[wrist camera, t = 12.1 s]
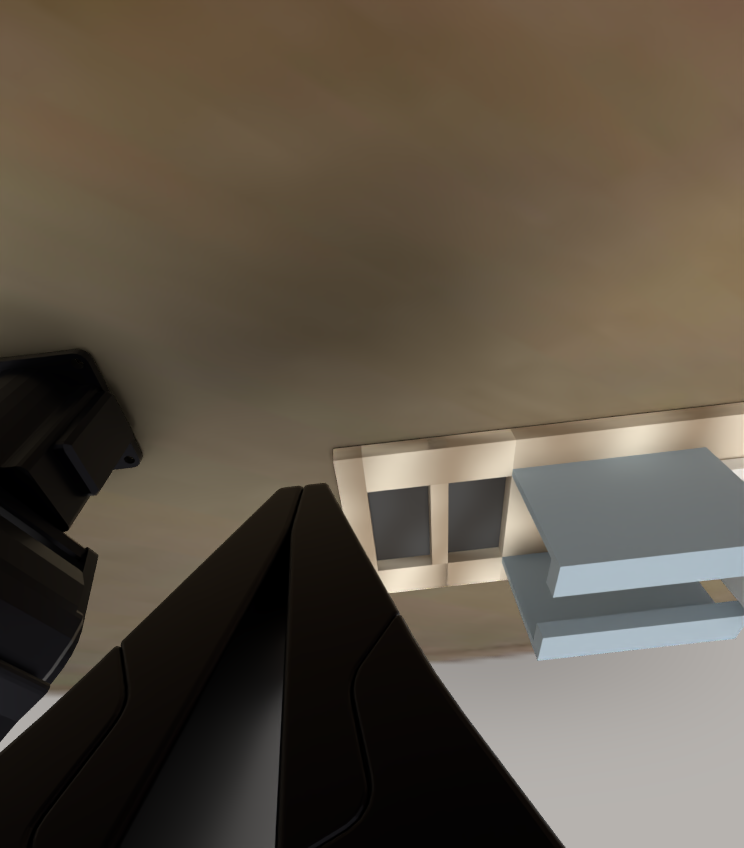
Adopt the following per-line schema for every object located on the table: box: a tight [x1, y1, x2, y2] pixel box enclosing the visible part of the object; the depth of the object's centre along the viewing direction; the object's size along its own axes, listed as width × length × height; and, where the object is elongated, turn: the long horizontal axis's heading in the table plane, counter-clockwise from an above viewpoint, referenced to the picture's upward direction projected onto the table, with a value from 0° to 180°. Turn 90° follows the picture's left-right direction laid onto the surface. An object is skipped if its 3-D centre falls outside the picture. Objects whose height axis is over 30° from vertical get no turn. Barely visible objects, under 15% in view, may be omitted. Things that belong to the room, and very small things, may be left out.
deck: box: [333, 402, 744, 593], centre depth 27 cm, size 27×12×1 cm, turn 96°
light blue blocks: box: [502, 447, 744, 661], centre depth 24 cm, size 10×8×6 cm
